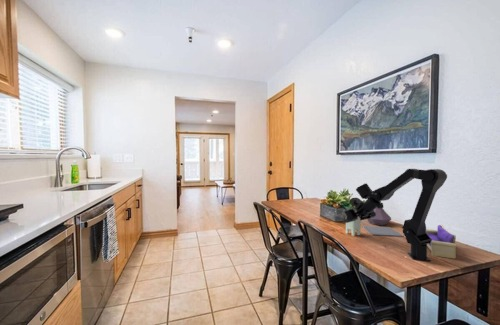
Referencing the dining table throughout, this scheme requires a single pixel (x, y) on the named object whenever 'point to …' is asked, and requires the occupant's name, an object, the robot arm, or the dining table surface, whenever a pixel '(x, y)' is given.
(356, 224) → the stool
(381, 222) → the flask
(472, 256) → the dining table surface
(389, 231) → the mat
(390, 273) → the dining table surface
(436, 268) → the dining table surface
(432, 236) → the toy sofa
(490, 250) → the dining table surface
